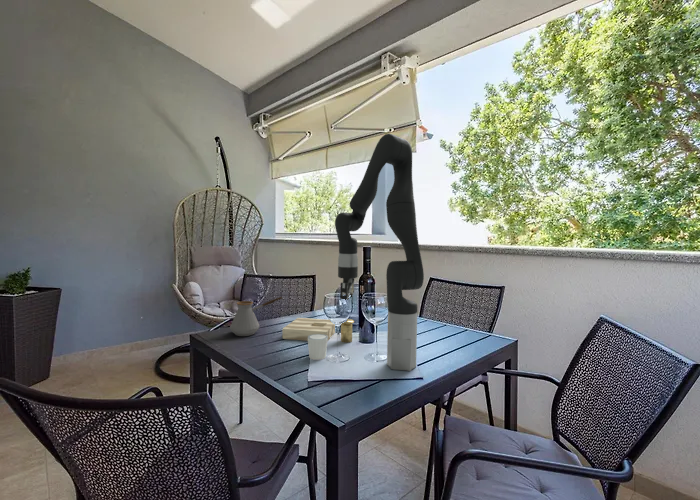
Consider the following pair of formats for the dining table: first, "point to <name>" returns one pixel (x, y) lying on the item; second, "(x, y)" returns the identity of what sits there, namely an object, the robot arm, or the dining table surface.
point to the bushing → (346, 331)
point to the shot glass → (317, 346)
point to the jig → (308, 328)
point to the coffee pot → (247, 318)
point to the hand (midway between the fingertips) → (347, 307)
